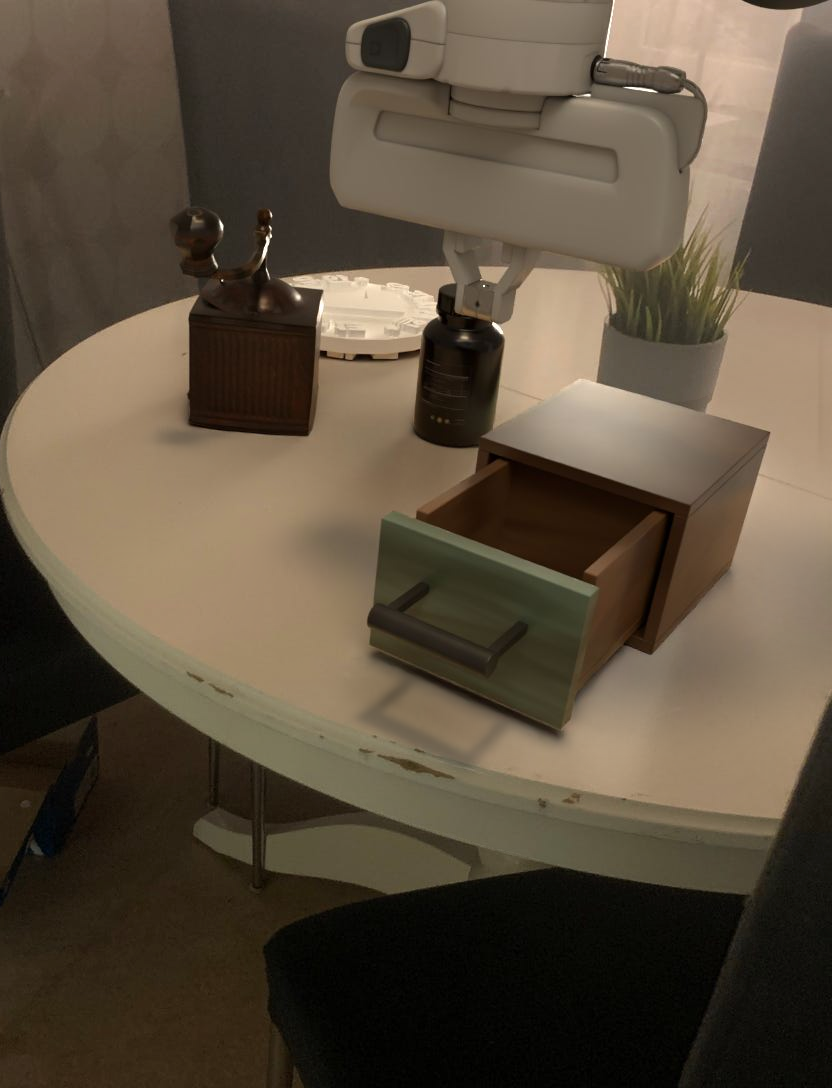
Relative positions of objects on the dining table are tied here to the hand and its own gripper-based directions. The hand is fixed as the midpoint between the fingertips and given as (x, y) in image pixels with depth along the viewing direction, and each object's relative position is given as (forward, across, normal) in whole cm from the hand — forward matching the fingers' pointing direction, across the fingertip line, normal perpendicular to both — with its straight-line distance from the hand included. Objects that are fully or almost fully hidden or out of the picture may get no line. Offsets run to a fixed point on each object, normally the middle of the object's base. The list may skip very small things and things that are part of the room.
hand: (482, 317), depth 64 cm
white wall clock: (+18, +34, -38) cm, 54 cm away
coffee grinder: (+18, +26, -12) cm, 34 cm away
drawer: (+17, -7, +7) cm, 19 cm away
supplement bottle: (+18, +12, -22) cm, 31 cm away
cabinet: (+18, -7, -8) cm, 21 cm away
